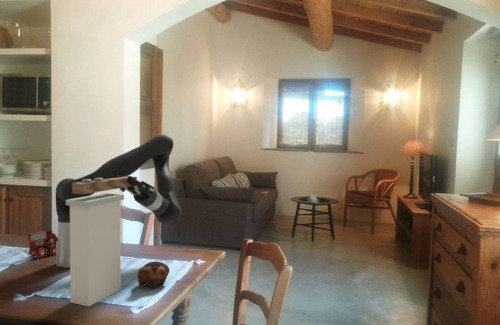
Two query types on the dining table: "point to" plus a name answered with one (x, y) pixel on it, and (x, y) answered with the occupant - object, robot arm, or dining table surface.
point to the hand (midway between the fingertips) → (123, 178)
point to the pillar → (95, 247)
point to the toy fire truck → (42, 243)
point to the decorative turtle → (153, 274)
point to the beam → (100, 185)
